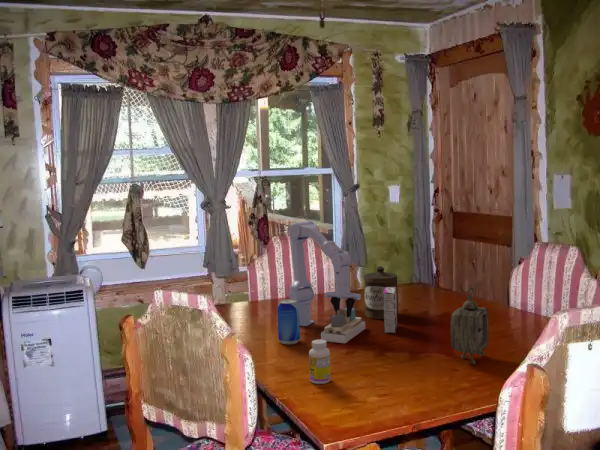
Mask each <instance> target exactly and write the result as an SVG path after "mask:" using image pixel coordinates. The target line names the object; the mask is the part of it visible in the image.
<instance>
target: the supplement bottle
mask: <svg viewBox="0 0 600 450" xmlns="http://www.w3.org/2000/svg"><path fill="white" fill-rule="evenodd" d="M327 345H328V341H326V340H321V339H314V340H312V341H311V346H312V348H311V349H309V351H308V360H309V362H308V363H309V364H308V365H309V368H308V369H309V381H310V382H311V383H312V384H316V385H324V384H328V383H330V381H331V380H332V379H331V378H332V377H331V373H332V372H331V352H330V349H329V348H327Z"/></svg>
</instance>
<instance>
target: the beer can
mask: <svg viewBox="0 0 600 450" xmlns="http://www.w3.org/2000/svg"><path fill="white" fill-rule="evenodd" d="M276 311H277V313H276V314H277V337H278V338H277V339H278V340H279V342H280V344H283V345H294V344H297V343H299V340H300V339H301V327H300V320H299V305H298V304H297V301H296V300H293V299H290V298H288V299H281V300H279V303H278V305H277V309H276Z"/></svg>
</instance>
